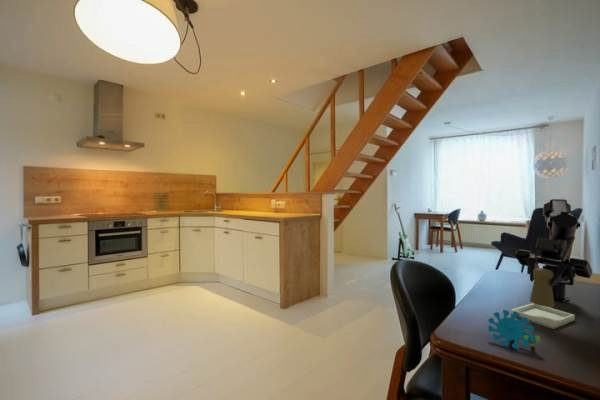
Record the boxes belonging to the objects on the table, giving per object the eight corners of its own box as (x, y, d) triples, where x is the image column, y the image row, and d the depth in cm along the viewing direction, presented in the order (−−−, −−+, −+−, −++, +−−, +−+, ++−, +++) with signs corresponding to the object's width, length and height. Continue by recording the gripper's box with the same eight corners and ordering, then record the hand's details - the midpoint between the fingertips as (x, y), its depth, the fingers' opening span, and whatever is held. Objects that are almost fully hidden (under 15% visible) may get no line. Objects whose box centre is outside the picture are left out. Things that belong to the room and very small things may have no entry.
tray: (533, 308, 101) (533, 302, 101) (574, 320, 91) (574, 314, 91) (511, 315, 94) (511, 309, 94) (552, 329, 85) (553, 323, 85)
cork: (559, 307, 89) (560, 272, 89) (536, 305, 91) (538, 270, 90) (546, 300, 95) (548, 267, 95) (525, 298, 97) (527, 265, 96)
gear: (481, 333, 77) (495, 302, 81) (484, 343, 81) (497, 313, 84) (532, 357, 69) (546, 322, 73) (533, 367, 72) (546, 333, 76)
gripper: (518, 226, 102) (499, 260, 98) (589, 233, 86) (571, 274, 81) (529, 247, 106) (511, 280, 101) (599, 257, 90) (582, 298, 85)
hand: (540, 283), depth 92 cm, fingers closed on cork, 5 cm apart
